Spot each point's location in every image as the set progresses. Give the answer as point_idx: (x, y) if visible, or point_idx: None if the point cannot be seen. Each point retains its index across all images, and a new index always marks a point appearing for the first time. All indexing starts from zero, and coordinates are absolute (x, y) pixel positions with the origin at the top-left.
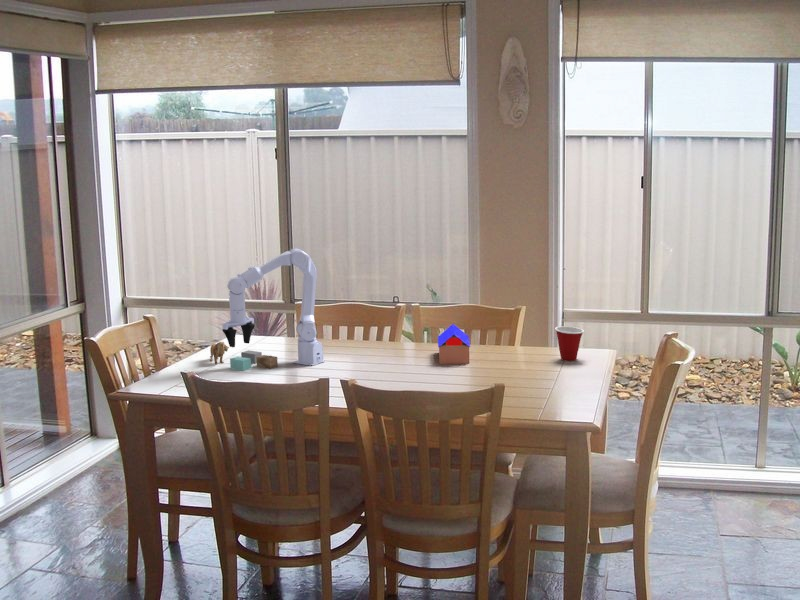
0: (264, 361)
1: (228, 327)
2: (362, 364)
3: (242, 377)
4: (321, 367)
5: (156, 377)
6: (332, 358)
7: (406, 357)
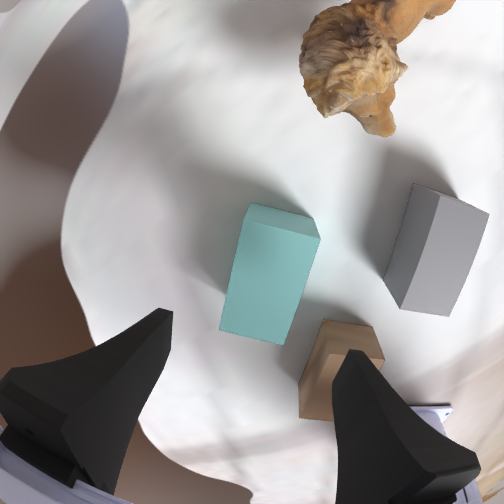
0: (310, 381)
1: (30, 472)
2: None
3: None
4: None
5: (23, 15)
6: None
7: None
